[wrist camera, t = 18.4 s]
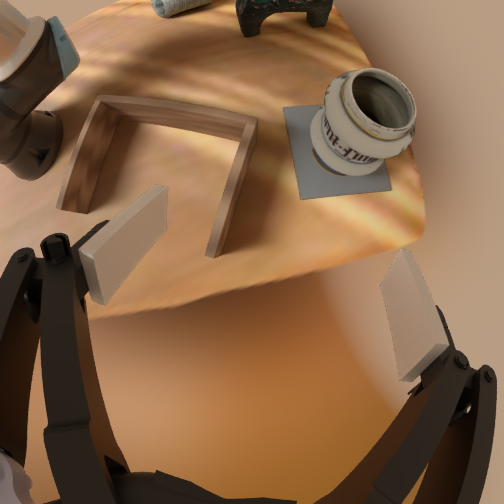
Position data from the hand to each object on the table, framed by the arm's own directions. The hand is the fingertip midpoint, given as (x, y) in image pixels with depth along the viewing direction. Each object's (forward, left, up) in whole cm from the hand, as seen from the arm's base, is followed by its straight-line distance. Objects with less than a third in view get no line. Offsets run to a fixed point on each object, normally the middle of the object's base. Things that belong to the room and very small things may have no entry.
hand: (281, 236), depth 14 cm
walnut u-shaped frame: (-13, -14, -27) cm, 34 cm away
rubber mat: (-13, +15, -27) cm, 34 cm away
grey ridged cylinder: (-54, -8, -28) cm, 62 cm away
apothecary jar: (-13, +15, -27) cm, 33 cm away
